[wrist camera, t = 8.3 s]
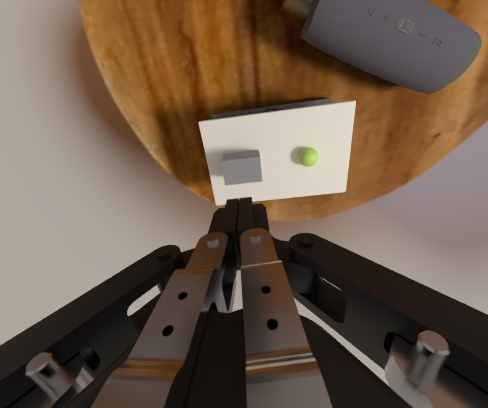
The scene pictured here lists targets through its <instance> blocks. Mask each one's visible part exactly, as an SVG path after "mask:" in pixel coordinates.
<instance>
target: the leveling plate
mask: <svg viewBox="0 0 488 408" xmlns="http://www.w3.org/2000/svg"><path fill="white" fill-rule="evenodd" d="M355 105H356V101H344V102H337V103H329V104H322V105H315V106H307V107H300V108H292V109H285V110H278V111H270V112H263V113H256V114H248V115H241V116H233V117H226V118H219V119H211V120H204V121H200V122H199V127H200V132H201V136H202V141H203V146H204V150H205V155H206V160H207V164H208V169H209V173H210V178H211V183H212V187H213V192H214V197H215V201H216V205H225V204H226V200H227V199H235V198H239V200H240V198H244V197H252V202H254V201H263V200H273V199H282V198H292V197H301V196H311V195H321V194H330V193H340V192H346V185H347V176H348V167H349V158H350V149H351V141H352V132H353V123H354V114H355Z"/></svg>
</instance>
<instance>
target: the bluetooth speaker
mask: <svg viewBox="0 0 488 408" xmlns="http://www.w3.org/2000/svg"><path fill="white" fill-rule="evenodd" d="M301 39H303V40H304V41H306V42H307V43H309V44H310V45H312V46H314V47H315V48H317V49H319V50H321V51H323V52H325V53H327V54H329V55H331V56H332V57H334V58H336V59H337V60H340V61H342V62H344V63H346V64H348V65H350V66H352V67H354V68H356V69H359V70H361V71H363V72H366V73H368V74H370V75H373V76H375V77H378V78H380V79H383V80H385V81H388V82H391V83H395V84H398V85H401V86H403V87H406V88H409V89H411V90H415V91H418V92H422V93H427V94H430V93H433V92H436V91H438V90H440V89H442V88H444V87H446V86H447V85H449V84H450V83H452V82H453V81H455V80H456V79H457V78H459V77H460V76H461V75H462V74H463V73H464V72H465V71H466V70H467V68H468V67H469V66H470V65H471V63H472V62H473V61H474V59H475V58H476V56H477V54H478V52H479V50H480V48H481V38H480V36H479V34H478V33H477V32H475V31H474V30H473V29H472V28H471V27H469V26H468V25H467V24H465V23H463V22H462V21H460V20H458V19H457V18H455V17H453V16H452V15H450V14H449V13H447V12H445V11H444V10H442V9H440V8H438V7H436V6H435V5H433V4H431V3H429V2H427V1H425V0H313V2H312V5H311V9H310V12H309V14H308V17H307V20H306V22H305V24H304V26H303V29H302V32H301Z"/></svg>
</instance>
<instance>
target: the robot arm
mask: <svg viewBox="0 0 488 408" xmlns="http://www.w3.org/2000/svg"><path fill="white" fill-rule="evenodd" d="M237 270H241V282H242V300H243V309H240V310H237V311H234V312H232V308H233V303H234V296H235V290H236V272H237ZM323 279H325V280H327V281H328V282H330V283H331V284H333V285H335V286H336V287H338V288H339V289H340V290H339V289H337V288H336V287H334V286H333V285H331V284H329V283H327V282H326V281H325V280H323ZM156 285H158V288H159V290H160V294H158V295H157V296H156V297H154V298H153V299H152V300H151V301H149V302H148V303H147V304H145V305H144V306H143V307H142V308H140V309H139V310H138V311H136V312H135V313H134V314H132V315H131V316H128V315H127V310H128V308H129V306H130V305H131V304H132V303H133V302H134V301H135V300H137V299H138V298H139V297H141V296H142V295H143V294H145V293H146V292H147V291H149V290H150V289H151V288H153V287H154V286H156ZM294 298H295V299H296V300H297V301H299V302H300V303H301V304H303V305H304V306H305V307H306V308H307V309H309V310H310V311H311V312H313V313H314V314H315V315H316V316H317V317H319V318H320V319H321V320H322V321H324V322H325V323H326V324H327V325H329V326H330V327H331V328H332V329H334V330H335V331H336V332H338V333H339V334H340V335H341V336H342V337H344V338H345V339H346V340H347V341H349V342H350V343H351V344H352V345H354V346H355V347H356V348H357V349H359V350H360V351H361V352H362V353H364V354H365V355H366V356H367V357H369V358H370V359H371V360H373V361H374V362H375V363H376V364H377V365H379V366H380V367H381V368H383V369H384V370H385V375H386V379H387V381H388V383H389V385H390V387H391V388H390V387H389V386H388V385H387V384H386V383H384V382H383V381H382V380H381V379H380V378H379V377H378V376H377V375H375V374H374V373H373V372H372V371H371V370H370V369H369V368H368V367H366V366H365V365H364V364H363V363H362V362H361V361H360V360H358V359H357V358H356V357H355V356H354V355H353V354H351V353H350V352H349V351H348V350H347V349H346V348H345V347H344V346H342V345H341V344H340V343H339V342H338V341H337V340H336V339H335V338H333V337H332V336H331V335H330V334H329V333H327V331H325V330H324V329H323V328H322V327H321V326H319V325H318V324H316V323H315V322H313V321H312V320H310V319H308V318H306V317H304V316H301V315H299V313H298V310H297V307H296V304H295V300H294ZM0 408H488V315H487V314H485V313H483V312H481V311H478V310H476V309H474V308H472V307H470V306H468V305H466V304H464V303H461V302H459V301H457V300H455V299H453V298H451V297H448V296H446V295H444V294H442V293H440V292H438V291H436V290H433V289H431V288H429V287H427V286H425V285H423V284H420V283H418V282H416V281H414V280H412V279H409V278H407V277H405V276H403V275H401V274H399V273H397V272H394V271H392V270H390V269H388V268H386V267H384V266H382V265H379V264H377V263H375V262H373V261H371V260H369V259H366V258H364V257H362V256H360V255H358V254H356V253H354V252H351V251H349V250H347V249H345V248H343V247H341V246H339V245H336V244H334V243H332V242H330V241H328V240H326V239H323V238H321V237H319V236H317V235H314V234H310V233H300V234H296V235H294V236H292V237H291V238H290V240H289V241H282V240H278V239H276V238H274V237H273V236H272V235H271V234H270V232H269V226H268V219H267V213H266V207H265V206H263V205H262V204H254V205H253V202H252V197H244V198H240V200H239V198H235V199H227V200H226V205H225V208H219V209H218V210H216V212H215V213H214V215H213V219H212V222H211V225H210V228H209V231H208V234H206V235H204V236H203V237H202V238H200V239H199V241H198V243H197V245H196V247H195V248H194V249H191V250H187V251H184V252H181V251H180V248H179V247H178V246H176V245H166V246H163V247H160V248H158V249H156V250H154V251H153V252H151V253H150V254H148V255H146V256H145V257H143V258H142V259H140V260H138V261H137V262H135V263H133V264H132V265H130V266H129V267H127V268H125V269H124V270H122V271H121V272H119V273H117V274H116V275H114V276H112V277H111V278H109V279H107V280H106V281H104V282H103V283H101V284H99V285H98V286H96V287H94V288H93V289H91V290H89V291H88V292H86V293H85V294H83V295H82V296H80V297H79V298H77V299H75V300H73V301H72V302H70V303H69V304H67V305H65V306H64V307H62V308H60V309H59V310H57V311H55V312H54V313H52V314H51V315H49V316H47V317H46V318H44V319H42V320H41V321H39V322H38V323H36V324H34V325H33V326H31V327H30V328H28V329H26V330H25V331H23V332H21V333H20V334H18V335H16V336H15V337H13V338H12V339H10V340H8V341H7V342H5V343H4V344H2V345H0Z"/></svg>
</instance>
